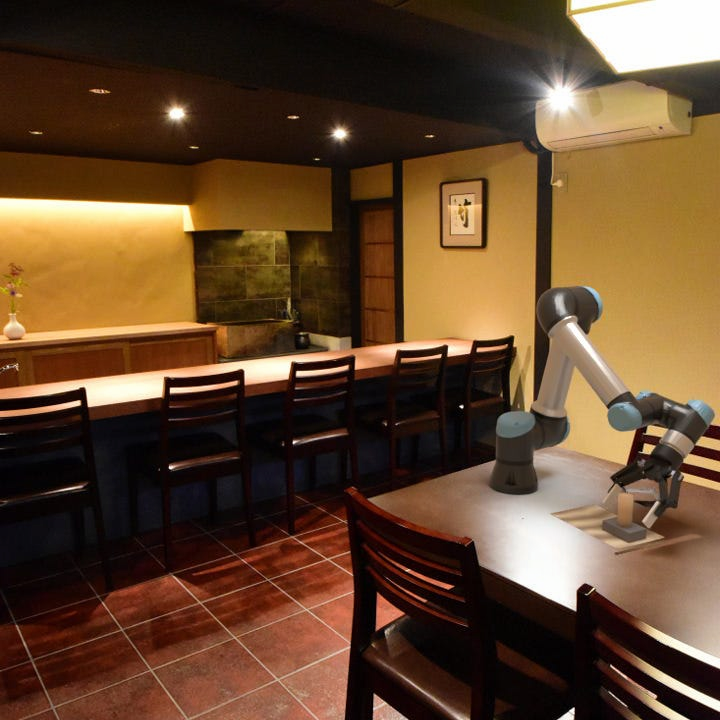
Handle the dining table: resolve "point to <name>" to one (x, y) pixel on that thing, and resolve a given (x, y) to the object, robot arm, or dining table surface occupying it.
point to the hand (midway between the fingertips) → (624, 515)
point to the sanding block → (624, 521)
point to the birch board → (592, 524)
